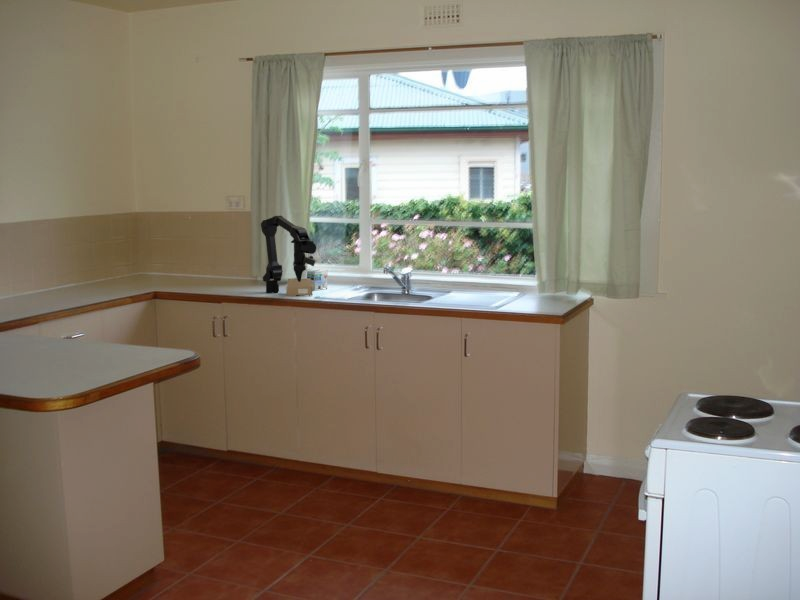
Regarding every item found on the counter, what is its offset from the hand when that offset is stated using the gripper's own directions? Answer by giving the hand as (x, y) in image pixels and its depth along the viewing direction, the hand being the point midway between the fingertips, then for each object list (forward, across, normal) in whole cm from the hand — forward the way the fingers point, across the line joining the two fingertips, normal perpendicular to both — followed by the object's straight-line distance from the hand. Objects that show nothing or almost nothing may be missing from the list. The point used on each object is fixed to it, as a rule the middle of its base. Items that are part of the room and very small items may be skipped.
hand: (299, 281), depth 460 cm
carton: (+8, +8, 0) cm, 12 cm away
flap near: (+1, +1, 0) cm, 2 cm away
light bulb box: (+10, +29, -10) cm, 33 cm away
